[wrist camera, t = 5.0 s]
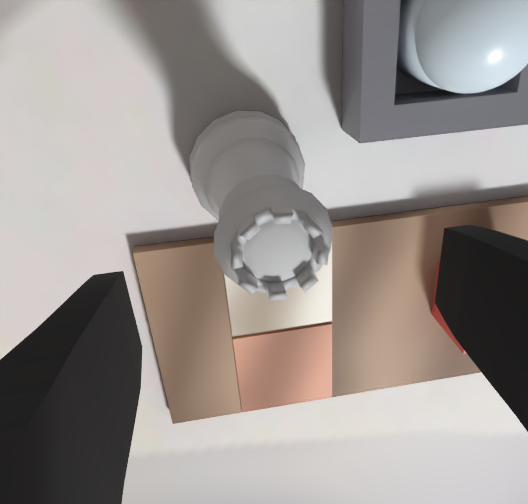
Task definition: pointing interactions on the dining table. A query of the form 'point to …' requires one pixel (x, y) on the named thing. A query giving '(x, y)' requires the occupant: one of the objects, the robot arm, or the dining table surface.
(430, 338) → the game board
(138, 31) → the dining table surface
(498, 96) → the dome housing
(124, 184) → the dining table surface
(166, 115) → the dining table surface
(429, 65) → the dome button
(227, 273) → the rook chess piece
